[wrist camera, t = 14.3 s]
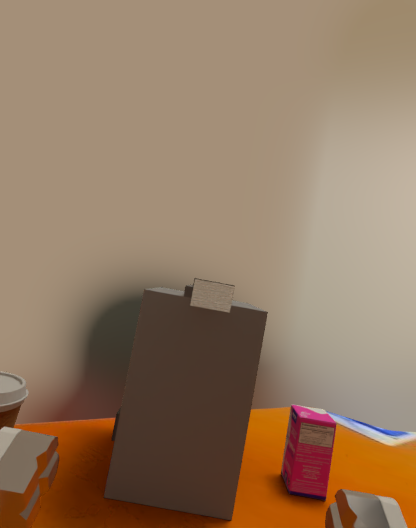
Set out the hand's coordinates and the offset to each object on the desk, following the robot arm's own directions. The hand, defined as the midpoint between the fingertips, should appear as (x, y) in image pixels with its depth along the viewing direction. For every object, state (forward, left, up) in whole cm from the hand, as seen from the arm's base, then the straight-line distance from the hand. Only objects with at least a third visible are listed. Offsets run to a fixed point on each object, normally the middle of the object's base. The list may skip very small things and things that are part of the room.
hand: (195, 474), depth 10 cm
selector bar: (0, -30, +4) cm, 30 cm away
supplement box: (-20, -46, -23) cm, 55 cm away
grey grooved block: (0, -45, -23) cm, 50 cm away
